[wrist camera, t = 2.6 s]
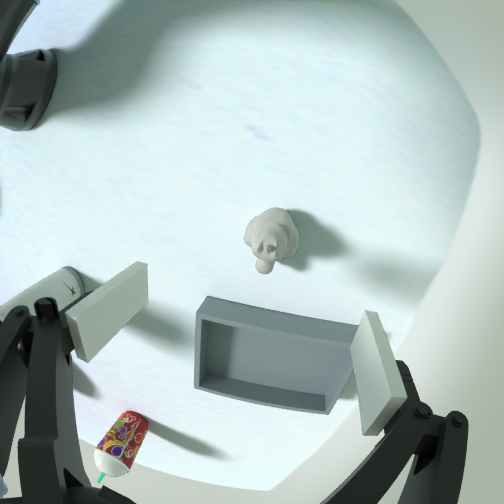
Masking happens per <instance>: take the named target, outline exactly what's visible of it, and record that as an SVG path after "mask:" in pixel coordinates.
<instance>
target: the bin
mask: <svg viewBox="0 0 504 504" xmlns="http://www.w3.org/2000/svg"><path fill="white" fill-rule="evenodd" d="M358 327H359V326H357V325H351V324H345V323H339V322H333V321H327V320H321V319H315V318H310V317H304V316H299V315H294V314H289V313H284V312H278V311H274V310H269V309H264V308H259V307H254V306H250V305H245V304H241V303H236V302H232V301H227V300H223V299H219V298H214V297H210V296H207V297H206V299H205V300H204V301H203V303H202V304H201V306H200V307H199V309H198V310H197V312H196V329H195V364H194V388H196V389H199V390H203V391H206V392H210V393H213V394H217V395H221V396H225V397H229V398H233V399H237V400H242V401H246V402H251V403H255V404H260V405H265V406H271V407H276V408H282V409H288V410H294V411H301V412H309V413H317V414H326V415H329V413H330V412H331V410H332V408H333V407H334V405H335V403H336V401H337V400H338V398H339V396H340V394H341V392H342V391H343V389H344V387H345V385H346V383H347V381H348V379H349V377H350V375H351V374H352V372H353V370H354V368H353V362H352V356H351V350H350V346H351V344H352V342H353V339H354V337H355V335H356V332H357V330H358Z"/></svg>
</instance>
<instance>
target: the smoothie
mask: <svg viewBox="0 0 504 504" xmlns="http://www.w3.org/2000/svg"><path fill="white" fill-rule="evenodd" d="M147 426H148V423H147V421H146V420H145V419H144V418H143V417H142V416H141V415H139V414H137V413H135V412H132V411H127V412H126V413H122V415H121V416H120V417H119V418H118V420H117V421H116V422H115V424H114V425H113V426H112V427H111V429H110V430H109V431H108V432H107V434H106V435H105V436H104V438H103V439H102V440H101V441H100V443H99V444H98V445H97V447H96V448H95V449H94V450H93V451H94V462H95V464H96V467H97V468H98V469H99V470H100V471H101V472H102V474H101V476H100V477H99V479H98V480H97V482H98V483H100V482H101V480H102V479H103V477H104V475H108V476H111V477H119V476H122V475H124V474H125V473H128V472H129V470H130V468H131V466H132V464H133V462H134V459H135V457H136V455H137V453H138V451H139V448H140V446H141V444H142V442H143V440H144V437H145V435H146V433H147V431H148V428H147Z"/></svg>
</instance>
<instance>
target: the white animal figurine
mask: <svg viewBox="0 0 504 504" xmlns="http://www.w3.org/2000/svg"><path fill="white" fill-rule="evenodd" d="M244 241H245V243H246V244H247V245H248V246H250V247H251V248H252V251H253V254H254V255H255V256H256V257H257V262H256V270H257V271H258V272H259V273H262V274H269V273H270V272H271V271H272V269H273V266H274V263H275V261H278V260H280V259H281V258H283V257H290V256H293V255H295V254H296V252H297V249H298V245H299V241H300V238H299V232H298V229H297V228H296V226H295V225H294V222H293V220H292V218H291V217H290V215H289V213H288V212H286V211H285V210H284V209H281V208H277V207H274V208H270V209H268V210H266V211H265V212H263V213H262V214H260V215H259V216H256V217H255V218H253V219H252V220H251V221H250V223H249V224H248V225H247V227H246V231H245V236H244Z"/></svg>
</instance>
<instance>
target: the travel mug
mask: <svg viewBox="0 0 504 504" xmlns="http://www.w3.org/2000/svg"><path fill="white" fill-rule="evenodd" d="M83 294H84V286H83V283H82V280H81V278H80V277H79V275H78V274H77V272H76V271H75V270H74V269H72V268H70V267H67V266H66V267H63V268H61V269H59V270H58V271H56V272H54V273H52V274H51V275H49V276H47V277H46V278H44V279H42V280H41V281H39V282H37V283H36V284H34V285H32V286H31V287H29V288H28V289H26V290H24V291H23V292H21V293H20V294H18V295H16V296H15V297H13V298H12V299H10V300H9V301H7V302H6V303H4V304H3V305H1V306H0V325H1V323H2V322H3V320H4V319H5V317H6V316H7V314H8V313H9V312H10V310H11V309H12V308H14V307H15V306H18V305H24V306H27V307H28V308H29V311H30V315H33V316H36V313H35V309H34V305H33V304H34V303H35V301H37V300H38V299H40V298H42V297H52V298H54V299H55V300H56V301H57V306H58V310H59V311H61V310H62V309H63V308H65V307H66V306H67V305H69V304H70V303H72V302H74V300H76V299H78V298H79V297H80V296H81V295H83ZM19 346H20V344H18V348H19Z"/></svg>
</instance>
